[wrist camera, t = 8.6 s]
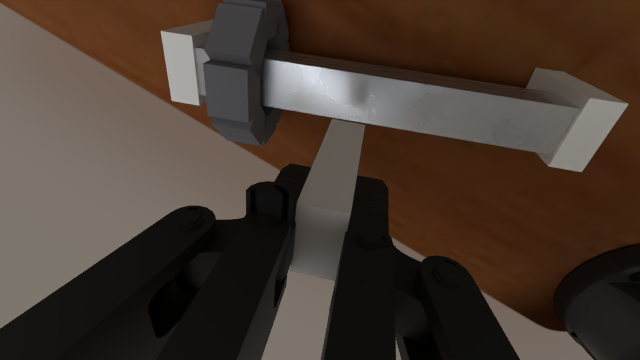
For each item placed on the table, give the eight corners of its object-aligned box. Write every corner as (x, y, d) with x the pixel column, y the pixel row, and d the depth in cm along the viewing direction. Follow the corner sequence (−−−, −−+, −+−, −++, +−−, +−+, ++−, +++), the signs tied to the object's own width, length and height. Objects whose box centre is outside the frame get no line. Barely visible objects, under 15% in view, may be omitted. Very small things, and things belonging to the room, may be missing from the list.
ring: (292, -3, 22) (246, 6, 15) (285, 115, 27) (249, 166, 20) (258, -7, 22) (196, -1, 15) (258, 111, 27) (212, 159, 20)
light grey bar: (572, 93, 20) (601, 110, 17) (546, 138, 22) (569, 160, 19) (203, 36, 22) (178, 43, 19) (207, 81, 24) (185, 94, 21)
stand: (586, 30, 21) (666, 49, 15) (518, 156, 27) (557, 207, 21) (210, -23, 23) (151, -24, 17) (220, 105, 29) (177, 137, 23)
